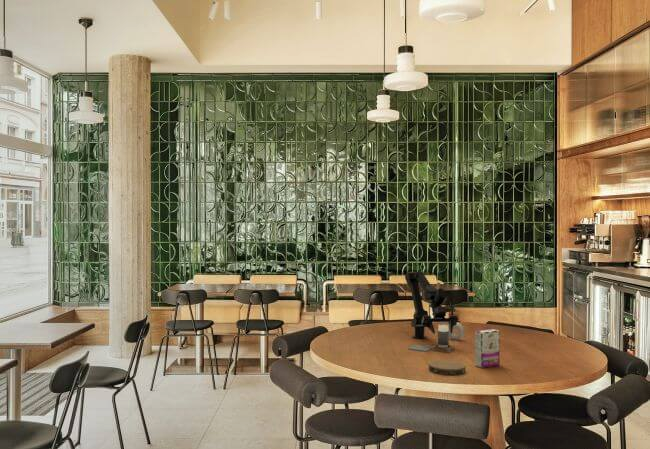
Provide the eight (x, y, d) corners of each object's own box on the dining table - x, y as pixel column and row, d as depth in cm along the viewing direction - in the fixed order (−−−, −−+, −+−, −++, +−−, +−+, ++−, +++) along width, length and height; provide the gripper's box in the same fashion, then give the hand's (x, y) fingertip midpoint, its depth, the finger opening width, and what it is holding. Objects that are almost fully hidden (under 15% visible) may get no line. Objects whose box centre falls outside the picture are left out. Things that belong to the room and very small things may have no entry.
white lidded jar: (439, 348, 302) (440, 323, 301) (449, 349, 299) (450, 324, 299) (436, 350, 297) (436, 325, 297) (446, 351, 294) (447, 326, 294)
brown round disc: (423, 372, 253) (423, 365, 253) (437, 365, 267) (437, 358, 267) (457, 378, 245) (457, 371, 245) (470, 370, 258) (470, 363, 258)
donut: (445, 339, 326) (445, 321, 326) (446, 338, 329) (447, 320, 329) (463, 340, 321) (463, 323, 321) (464, 339, 325) (464, 322, 325)
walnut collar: (437, 347, 304) (437, 343, 304) (454, 349, 299) (454, 345, 299) (431, 350, 296) (431, 346, 296) (448, 352, 292) (448, 348, 292)
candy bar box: (492, 363, 270) (492, 328, 270) (499, 365, 266) (500, 330, 266) (474, 365, 265) (474, 330, 265) (481, 368, 261) (482, 332, 261)
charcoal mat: (414, 345, 307) (414, 344, 307) (432, 348, 302) (432, 347, 302) (407, 349, 298) (407, 348, 298) (426, 351, 293) (426, 350, 293)
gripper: (423, 300, 303) (428, 324, 292) (457, 300, 305) (464, 324, 294) (419, 312, 311) (424, 336, 300) (452, 312, 312) (459, 336, 301)
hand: (443, 333), depth 298 cm, fingers open, 9 cm apart
